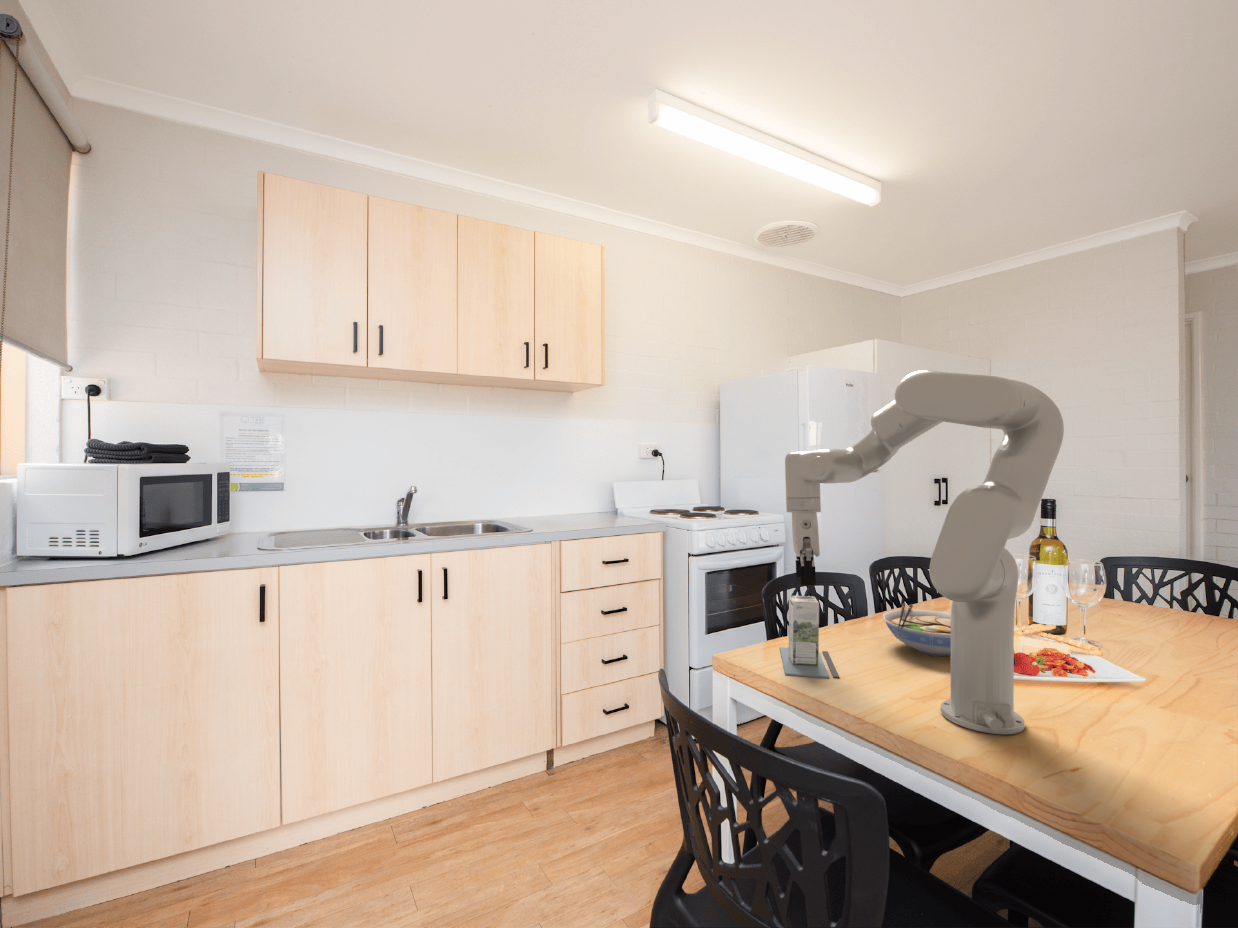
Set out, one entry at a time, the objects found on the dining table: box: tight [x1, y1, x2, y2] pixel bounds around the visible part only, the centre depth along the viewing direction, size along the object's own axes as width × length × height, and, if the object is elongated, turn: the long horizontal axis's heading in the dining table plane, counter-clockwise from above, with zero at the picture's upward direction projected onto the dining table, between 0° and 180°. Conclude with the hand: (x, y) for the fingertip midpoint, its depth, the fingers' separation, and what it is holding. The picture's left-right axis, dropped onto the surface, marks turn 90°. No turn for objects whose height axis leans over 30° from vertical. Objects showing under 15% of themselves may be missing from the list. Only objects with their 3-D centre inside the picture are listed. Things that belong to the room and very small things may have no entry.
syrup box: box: [788, 595, 820, 665], centre depth 131 cm, size 6×6×14 cm
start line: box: [822, 650, 840, 679], centre depth 131 cm, size 17×1×1 cm, turn 168°
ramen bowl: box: [882, 602, 951, 657], centre depth 140 cm, size 25×23×8 cm
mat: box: [779, 646, 830, 679], centre depth 132 cm, size 18×9×1 cm, turn 168°
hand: (805, 580), depth 131 cm, fingers open, 9 cm apart
